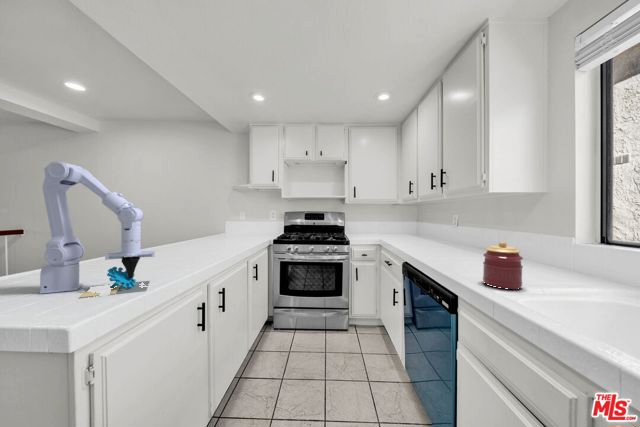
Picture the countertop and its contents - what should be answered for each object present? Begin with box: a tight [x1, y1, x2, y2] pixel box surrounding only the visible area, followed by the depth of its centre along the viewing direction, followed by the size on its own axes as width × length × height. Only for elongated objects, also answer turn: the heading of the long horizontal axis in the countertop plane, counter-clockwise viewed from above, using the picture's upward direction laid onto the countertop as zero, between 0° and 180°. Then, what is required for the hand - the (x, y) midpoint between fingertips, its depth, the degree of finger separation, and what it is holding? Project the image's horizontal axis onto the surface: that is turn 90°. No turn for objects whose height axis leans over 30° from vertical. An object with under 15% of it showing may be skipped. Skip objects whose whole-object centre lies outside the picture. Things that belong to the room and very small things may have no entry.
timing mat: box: [78, 280, 151, 300], centre depth 95 cm, size 18×15×1 cm
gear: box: [106, 266, 137, 289], centre depth 96 cm, size 11×6×10 cm
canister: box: [482, 240, 524, 289], centre depth 106 cm, size 13×13×18 cm
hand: (130, 277), depth 97 cm, fingers closed
